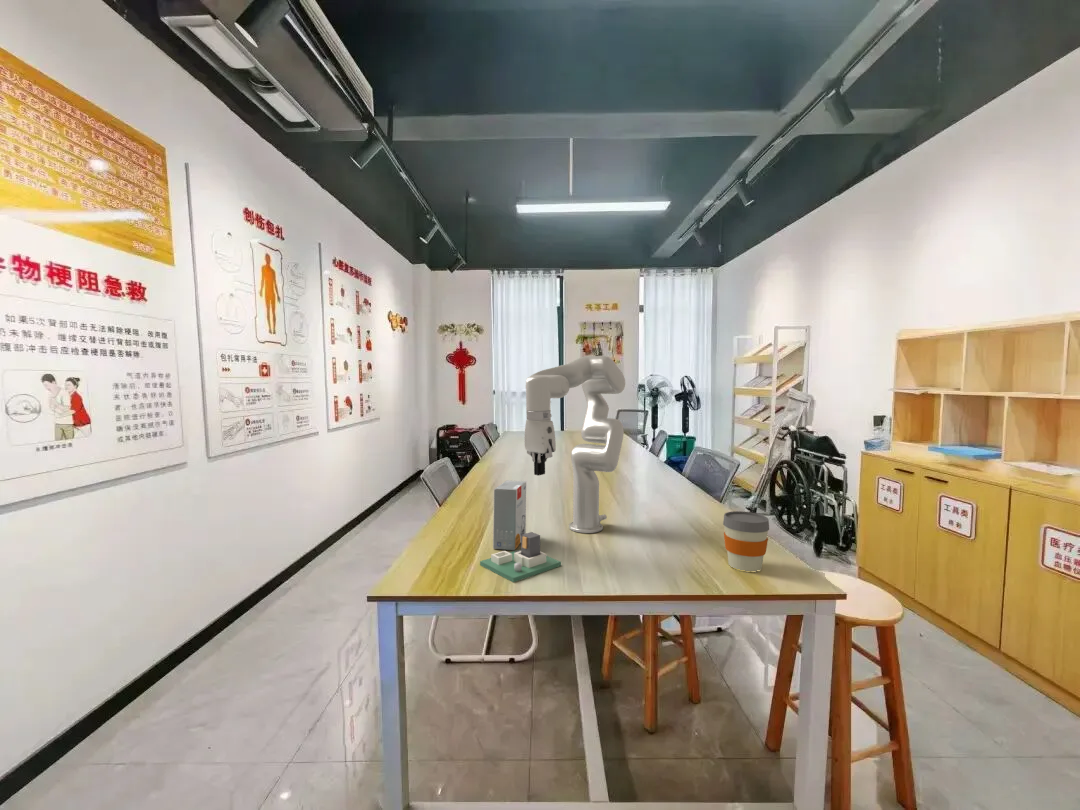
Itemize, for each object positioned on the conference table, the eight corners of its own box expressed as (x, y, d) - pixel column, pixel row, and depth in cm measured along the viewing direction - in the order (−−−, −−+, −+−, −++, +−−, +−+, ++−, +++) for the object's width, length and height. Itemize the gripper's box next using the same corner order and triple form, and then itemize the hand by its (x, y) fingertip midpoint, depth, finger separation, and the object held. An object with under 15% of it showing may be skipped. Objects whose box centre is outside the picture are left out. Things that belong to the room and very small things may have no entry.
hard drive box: (515, 551, 152) (515, 490, 151) (492, 549, 153) (492, 488, 152) (526, 536, 167) (526, 480, 166) (505, 534, 168) (505, 479, 167)
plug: (531, 557, 143) (531, 531, 142) (540, 561, 140) (540, 535, 139) (519, 561, 140) (519, 535, 139) (528, 565, 137) (528, 538, 136)
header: (531, 555, 144) (531, 547, 144) (546, 562, 139) (546, 553, 139) (512, 561, 140) (512, 553, 139) (527, 568, 134) (527, 560, 134)
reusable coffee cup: (724, 572, 135) (725, 521, 135) (720, 556, 147) (721, 509, 147) (772, 577, 132) (773, 524, 131) (763, 561, 144) (765, 512, 143)
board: (526, 551, 152) (526, 541, 152) (561, 565, 140) (561, 555, 140) (480, 565, 140) (480, 554, 140) (513, 582, 128) (513, 570, 128)
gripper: (564, 416, 143) (565, 476, 144) (531, 413, 154) (533, 469, 155) (546, 418, 138) (547, 480, 139) (514, 415, 149) (515, 472, 150)
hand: (539, 474), depth 147 cm, fingers closed
